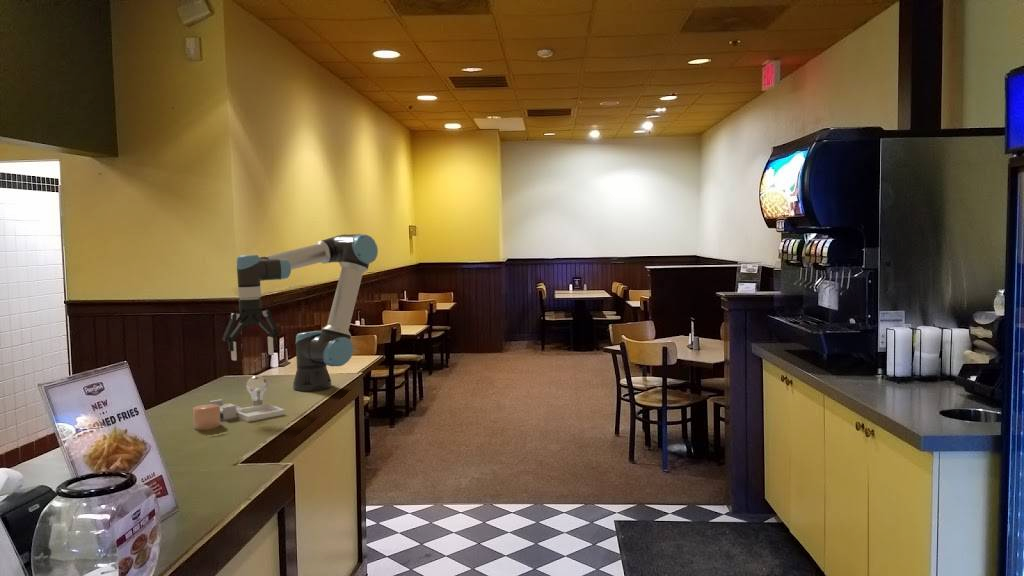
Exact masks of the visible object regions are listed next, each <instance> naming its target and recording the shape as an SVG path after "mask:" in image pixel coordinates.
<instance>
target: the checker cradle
mask: <svg viewBox="0 0 1024 576" xmlns="http://www.w3.org/2000/svg"><path fill="white" fill-rule="evenodd" d="M208 404H217V405H223V399H222V398H221V399H214V400H209V402H208ZM236 406H237V405H236V404H234V405H231V406H226V407H223V414H220V422H226V421H230V420H236V419H239V417H237V411H236Z"/></svg>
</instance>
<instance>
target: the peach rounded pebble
mask: <svg viewBox="0 0 1024 576" xmlns="http://www.w3.org/2000/svg"><path fill="white" fill-rule="evenodd" d="M192 415H193V416H192V417H193V419H192V422H193V429H194V430H196V431H197V430H198V431H203V430H204V431H207V430H212V429H217V428H219V427H221V425H222V424H221V422H222V421H221V422H220V405H217V404H209V403H208V404H201V405H196V406H194V407H193V408H192Z"/></svg>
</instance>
